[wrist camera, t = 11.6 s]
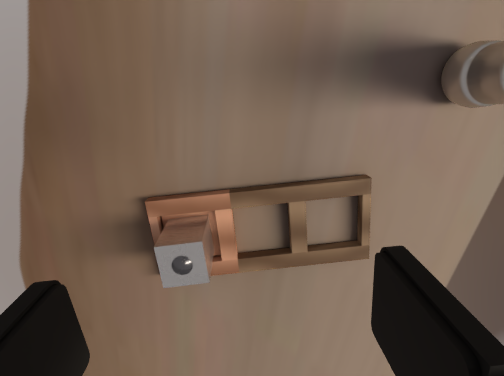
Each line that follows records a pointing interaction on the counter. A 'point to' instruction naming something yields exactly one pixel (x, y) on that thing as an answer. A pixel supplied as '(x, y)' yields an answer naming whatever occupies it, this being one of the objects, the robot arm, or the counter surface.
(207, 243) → the steel plug
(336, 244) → the rail
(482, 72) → the plastic bottle
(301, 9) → the counter surface
